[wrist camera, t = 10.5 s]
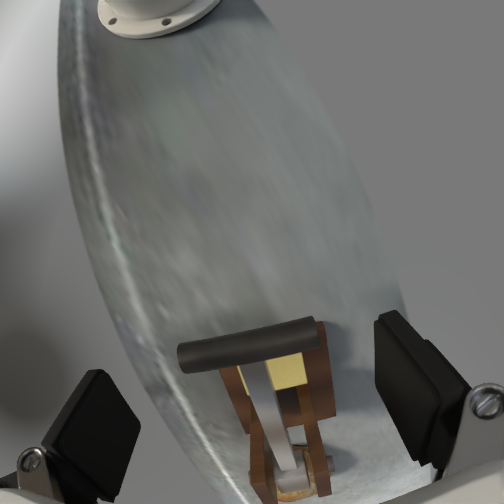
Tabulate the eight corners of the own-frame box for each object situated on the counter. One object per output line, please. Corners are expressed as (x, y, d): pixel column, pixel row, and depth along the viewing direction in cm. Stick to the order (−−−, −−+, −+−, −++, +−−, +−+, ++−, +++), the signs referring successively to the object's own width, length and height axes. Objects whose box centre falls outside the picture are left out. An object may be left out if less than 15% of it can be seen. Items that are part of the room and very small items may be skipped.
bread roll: (329, 439, 34) (357, 464, 26) (296, 490, 31) (316, 519, 24) (270, 424, 32) (290, 452, 25) (237, 479, 30) (248, 513, 22)
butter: (236, 337, 24) (234, 359, 21) (294, 324, 23) (300, 344, 20) (247, 372, 25) (247, 395, 22) (302, 361, 24) (307, 383, 21)
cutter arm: (182, 331, 13) (171, 363, 11) (308, 304, 13) (320, 333, 10) (254, 473, 17) (255, 497, 15) (330, 458, 17) (336, 482, 15)
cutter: (213, 344, 25) (190, 458, 13) (321, 320, 25) (369, 426, 12) (246, 427, 28) (245, 523, 16) (334, 408, 28) (362, 501, 15)
